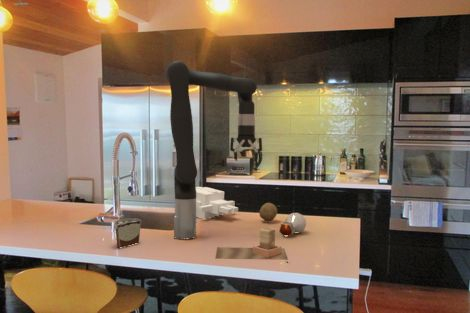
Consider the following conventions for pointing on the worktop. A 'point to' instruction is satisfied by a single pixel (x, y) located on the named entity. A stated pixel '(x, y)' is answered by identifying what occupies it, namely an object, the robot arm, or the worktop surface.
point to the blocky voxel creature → (212, 203)
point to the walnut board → (244, 254)
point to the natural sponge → (268, 212)
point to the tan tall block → (267, 238)
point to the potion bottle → (293, 224)
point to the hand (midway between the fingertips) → (245, 160)
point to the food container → (127, 231)
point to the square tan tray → (267, 251)
